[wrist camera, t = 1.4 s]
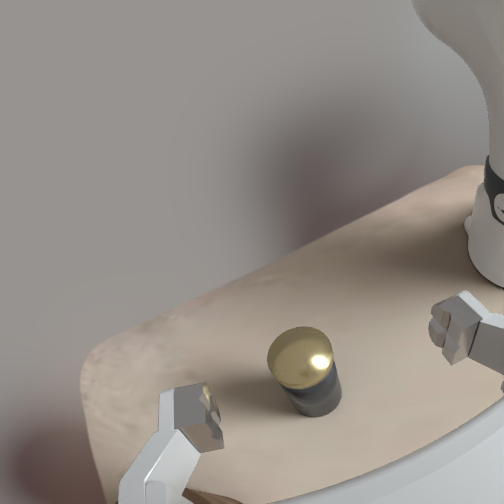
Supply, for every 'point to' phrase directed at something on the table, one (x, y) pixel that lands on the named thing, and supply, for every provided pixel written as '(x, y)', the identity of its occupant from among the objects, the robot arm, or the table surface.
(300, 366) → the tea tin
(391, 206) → the table surface
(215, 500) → the brown wooden cylinder
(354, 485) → the robot arm
